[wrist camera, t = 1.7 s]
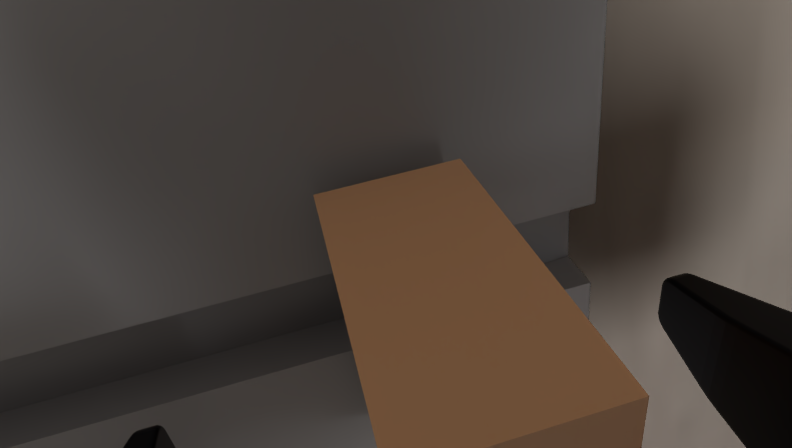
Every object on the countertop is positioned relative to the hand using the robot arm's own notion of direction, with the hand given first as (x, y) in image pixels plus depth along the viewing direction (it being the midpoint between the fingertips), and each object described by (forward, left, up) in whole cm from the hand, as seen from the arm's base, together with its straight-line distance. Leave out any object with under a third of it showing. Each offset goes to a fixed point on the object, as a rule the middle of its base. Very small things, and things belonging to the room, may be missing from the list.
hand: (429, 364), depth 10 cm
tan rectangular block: (0, 0, -2) cm, 2 cm away
